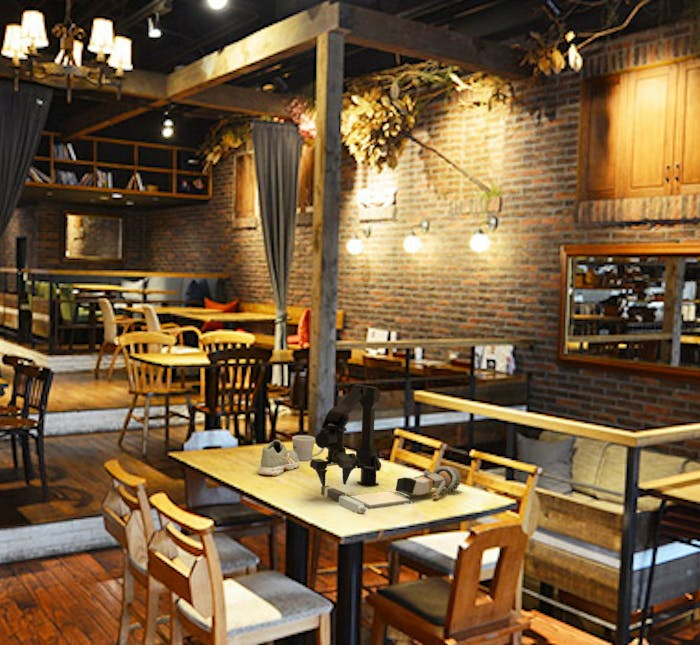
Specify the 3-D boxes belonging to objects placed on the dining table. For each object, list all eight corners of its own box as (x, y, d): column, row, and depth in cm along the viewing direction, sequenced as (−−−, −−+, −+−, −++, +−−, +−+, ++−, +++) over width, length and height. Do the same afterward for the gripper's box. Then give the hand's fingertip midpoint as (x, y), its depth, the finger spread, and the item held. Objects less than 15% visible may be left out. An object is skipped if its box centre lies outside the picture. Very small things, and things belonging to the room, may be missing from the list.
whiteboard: (369, 508, 290) (369, 503, 290) (346, 498, 303) (346, 493, 302) (413, 502, 301) (414, 498, 301) (389, 493, 314) (390, 488, 313)
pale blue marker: (338, 504, 294) (339, 496, 294) (345, 503, 296) (345, 495, 296) (360, 515, 282) (360, 506, 282) (367, 514, 284) (368, 505, 284)
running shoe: (304, 464, 357) (306, 433, 356) (280, 479, 329) (281, 445, 328) (280, 461, 360) (282, 431, 359) (254, 476, 332) (256, 443, 331)
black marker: (320, 494, 307) (321, 486, 307) (327, 493, 309) (328, 485, 309) (341, 503, 295) (342, 495, 295) (348, 502, 297) (349, 494, 297)
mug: (292, 456, 372) (293, 434, 371) (324, 458, 371) (325, 436, 371) (289, 461, 361) (290, 439, 361) (323, 463, 361) (324, 440, 360)
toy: (418, 507, 298) (467, 498, 319) (423, 477, 297) (472, 470, 318) (389, 494, 308) (439, 486, 329) (394, 466, 307) (444, 460, 328)
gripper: (326, 450, 290) (324, 493, 291) (368, 446, 300) (366, 488, 301) (310, 444, 299) (308, 486, 300) (352, 440, 310) (350, 481, 310)
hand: (334, 485), depth 303 cm, fingers open, 9 cm apart
